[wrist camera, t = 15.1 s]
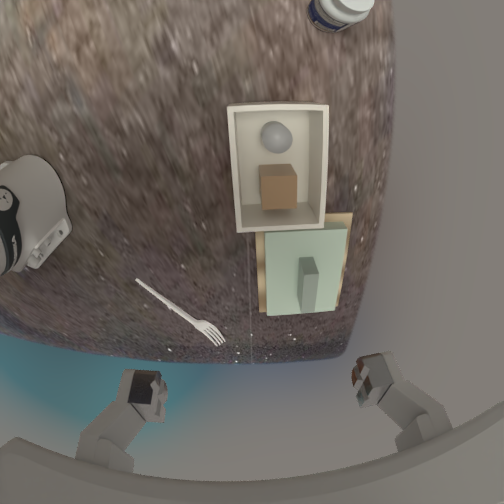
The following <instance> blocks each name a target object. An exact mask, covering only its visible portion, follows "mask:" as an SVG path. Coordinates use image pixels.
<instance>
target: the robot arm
mask: <svg viewBox="0 0 504 504" xmlns="http://www.w3.org/2000/svg"><path fill="white" fill-rule="evenodd" d="M61 230H62V231H61ZM71 231H72V225H71V222H70V219H69V217H68V215H67V212H66V202H65V194H64V190H63V187H62V184H61V182H60V179H59V177H58V175H57V174H56V172H55V171H54V169H53V168H52V167H51V166H50V165H49V164H48V163H47V162H46V161H45V160H43V159H42V158H40V157H38V156H35V155H25V156H22V157H20V158H19V159H17V160H15V161H5V162H3V163H2V164H1V165H0V276H2V275H4V274H5V273H8V272H9V271H10V270H12V271H14V272H21V271H22V270H23V269H24V268H25V266H26V265H27V266H29V267H31V268H34V269H38V268H39V267H40V266H41V265H42V264H43V262H44V261H45V260H46V259H47V258H48V257H49V255H50V254H51V253H52V252H53V251H54V250H55V249H56V248H57V247H58V245H59V244H60V243H61V242H62V241H63V240H64V239H65V238H66V237H67V236H68V235H69V234H70V233H71ZM356 363H357V365H356V366H355V367H354V368H353V370H352V376H351V378H352V384H353V387H354V388H355V389H357V390H358V393H357V395H356V397H357V400H358V403H359V406H360V408H363V407H368V406H373V405H377V404H378V405H377V406H378V407H379V408H380V409H382V410H383V411H384V412H385V413H386V414H387V415H388V416H389V417H390V418H391V419H392V420H393V421H394V422H395V423H396V424H397V425H398V426H399V427H401V428H402V429H403V431H402V432H401V433H400V434H398V435H397V436H396V438H395V443H396V446H397V449H398V452H397V453H394V454H391V455H388V456H385V457H382V458H379V459H375V460H372V461H369V462H365V463H362V464H357V465H354V466H350V467H346V468H341V469H337V470H332V471H327V472H322V473H316V474H310V475H304V476H297V477H290V478H281V479H270V480H258V481H257V480H256V481H221V482H220V481H194V480H180V479H169V478H161V477H153V476H146V475H141V474H135V473H133V467H134V459H133V457H132V456H130V455H129V454H127V453H126V452H124V450H125V449H126V448H127V446H128V445H129V444H130V443H131V441H132V440H133V439H134V437H135V436H136V435H137V433H138V432H139V431H140V430H141V429H142V427H143V426H144V425H145V423H146V422H145V421H147V422H162V423H164V420H165V412H166V409H165V407H164V406H163V404H164V403H165V402H166V401H167V394H168V393H167V386H166V383H165V381H164V380H162V379H161V376H162V375H161V373H160V371H148V370H135V369H125V370H124V372H123V374H122V378H121V381H120V385H119V389H118V393H117V398H116V401H113V402H111V403H110V404H109V405H108V406H107V407H106V408H105V409H104V410H103V411H102V412H101V413H100V414H99V415H98V416H97V417H96V418H95V419H94V420H93V421H92V422H91V423H90V424H89V425H88V426H87V427H86V428H85V429H84V430H83V431H82V432H81V433H80V438H79V442H78V447H77V451H76V456H75V459H74V458H71V457H68V456H65V455H62V454H59V453H56V452H54V451H51V450H48V449H46V448H43V447H41V446H38V445H36V444H34V443H31V442H29V441H26V440H24V439H22V438H19V437H15V438H13V439H12V440H10V441H8V442H7V443H6V444H5V445H3V446H2V447H1V448H0V504H504V401H502V402H500V403H498V404H496V405H495V406H493V407H491V408H490V409H488V410H486V411H485V412H483V413H481V414H480V415H478V416H476V417H474V418H473V419H471V420H469V421H467V422H465V423H463V424H462V425H460V426H458V427H456V428H454V429H453V428H452V425H451V423H450V420H449V418H448V416H447V413H446V411H445V408H444V406H443V405H442V404H440V403H439V402H438V401H436V400H435V399H433V398H432V397H431V396H429V395H428V394H426V393H425V392H424V391H422V390H421V389H419V388H418V387H417V386H415V385H414V384H413V383H411V382H410V381H408V380H404V377H403V375H402V372H401V370H400V368H399V366H398V363H397V361H396V359H395V357H394V355H393V353H392V352H391V351H386V352H382V353H376V354H371V355H367V356H362V357H359V358H358V359H357V360H356Z"/></svg>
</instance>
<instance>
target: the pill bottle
mask: <svg viewBox="0 0 504 504" xmlns="http://www.w3.org/2000/svg"><path fill="white" fill-rule="evenodd" d="M373 5H374V0H312V1H311V2H310V4H309V5H308V8H307V15H308V18H309V20H310V21H311V23H312V24H313V25H314V26H315V27H317V28H318V29H320V30H322V31H325V32H330V33H334V32H339V31H342V30H344V29H346V28H348V27H350V26H352V25H354V24H356V23H358V22H360V21H362V20H363V19H365V18H366V17H367V15H368V13H369V10H370V9H371V8H372V6H373Z"/></svg>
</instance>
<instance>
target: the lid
mask: <svg viewBox="0 0 504 504" xmlns="http://www.w3.org/2000/svg"><path fill="white" fill-rule="evenodd" d="M347 231H348V229H347V227H346V225H345V224H344V222H343V221H340V222H324V228H317V229H296V230H276V231H264V247H265V281H266V310H267V316H274V315H288V314H300V313H312V312H322V311H332V310H335V305H336V300H337V295H338V289H339V284H340V278H341V272H342V266H343V259H344V253H345V246H346V239H347Z"/></svg>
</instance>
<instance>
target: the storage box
mask: <svg viewBox="0 0 504 504" xmlns="http://www.w3.org/2000/svg"><path fill="white" fill-rule="evenodd" d="M227 115H228V129H229V142H230V155H231V168H232V180H233V192H234V204H235V216H236V227H237V233H241V232H258V231H276V230H296V229H317V228H324V219H325V205H326V189H327V168H328V137H329V105H325V104H321V103H316V102H299V101H277V102H248V103H232V104H229V105H228V106H227Z"/></svg>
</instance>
